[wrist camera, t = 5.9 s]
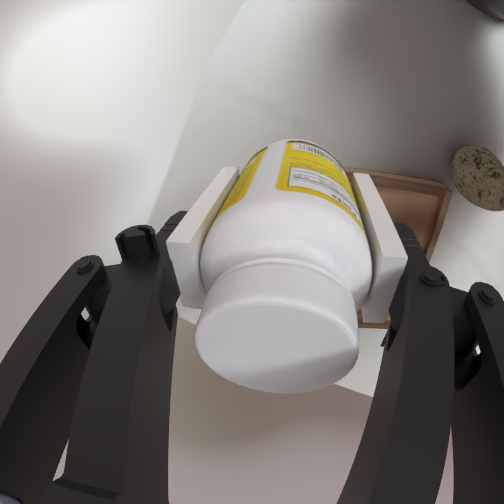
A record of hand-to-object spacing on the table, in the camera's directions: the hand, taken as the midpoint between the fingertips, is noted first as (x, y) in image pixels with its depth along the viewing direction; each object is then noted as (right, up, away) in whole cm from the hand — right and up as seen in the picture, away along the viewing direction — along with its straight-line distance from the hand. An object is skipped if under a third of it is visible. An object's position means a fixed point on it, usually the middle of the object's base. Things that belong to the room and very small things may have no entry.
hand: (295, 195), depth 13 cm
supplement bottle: (0, +1, +1) cm, 1 cm away
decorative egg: (+22, +7, +11) cm, 26 cm away
